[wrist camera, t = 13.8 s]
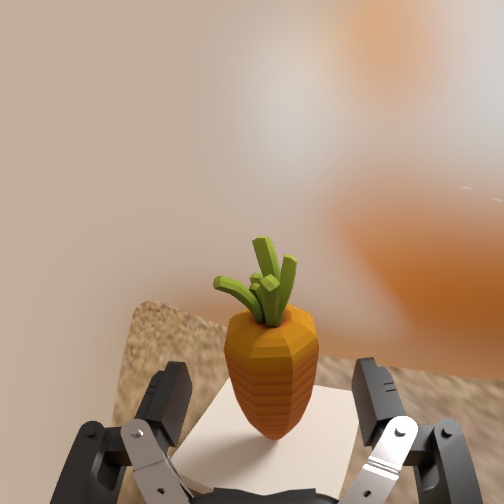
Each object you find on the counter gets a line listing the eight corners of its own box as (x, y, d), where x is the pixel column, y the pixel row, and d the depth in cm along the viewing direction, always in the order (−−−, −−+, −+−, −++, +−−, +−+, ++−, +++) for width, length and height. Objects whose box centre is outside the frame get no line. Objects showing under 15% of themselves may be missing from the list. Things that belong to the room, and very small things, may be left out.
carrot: (295, 471, 14) (307, 279, 9) (230, 450, 17) (184, 262, 11) (317, 420, 19) (334, 232, 13) (258, 405, 21) (241, 225, 15)
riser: (355, 417, 22) (364, 392, 20) (321, 530, 12) (329, 521, 10) (240, 392, 27) (236, 367, 25) (179, 483, 17) (164, 466, 15)
